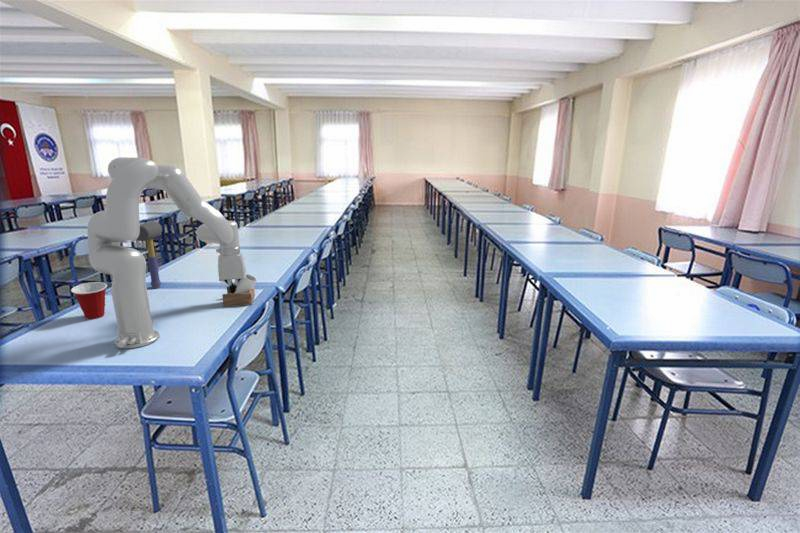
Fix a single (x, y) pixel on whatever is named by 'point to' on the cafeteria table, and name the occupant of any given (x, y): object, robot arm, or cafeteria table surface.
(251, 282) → the white paper cup
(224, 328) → the cafeteria table surface
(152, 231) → the rubber mallet
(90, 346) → the cafeteria table surface
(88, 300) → the plastic cup
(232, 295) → the box
